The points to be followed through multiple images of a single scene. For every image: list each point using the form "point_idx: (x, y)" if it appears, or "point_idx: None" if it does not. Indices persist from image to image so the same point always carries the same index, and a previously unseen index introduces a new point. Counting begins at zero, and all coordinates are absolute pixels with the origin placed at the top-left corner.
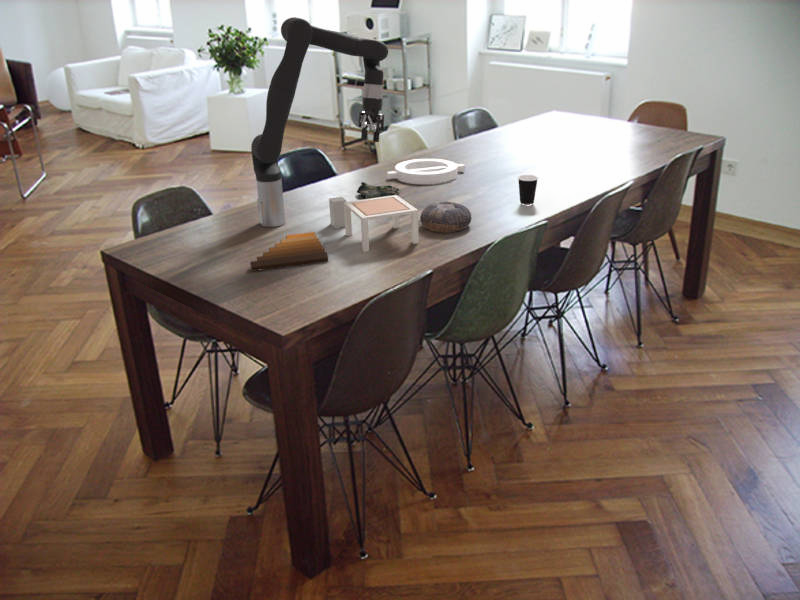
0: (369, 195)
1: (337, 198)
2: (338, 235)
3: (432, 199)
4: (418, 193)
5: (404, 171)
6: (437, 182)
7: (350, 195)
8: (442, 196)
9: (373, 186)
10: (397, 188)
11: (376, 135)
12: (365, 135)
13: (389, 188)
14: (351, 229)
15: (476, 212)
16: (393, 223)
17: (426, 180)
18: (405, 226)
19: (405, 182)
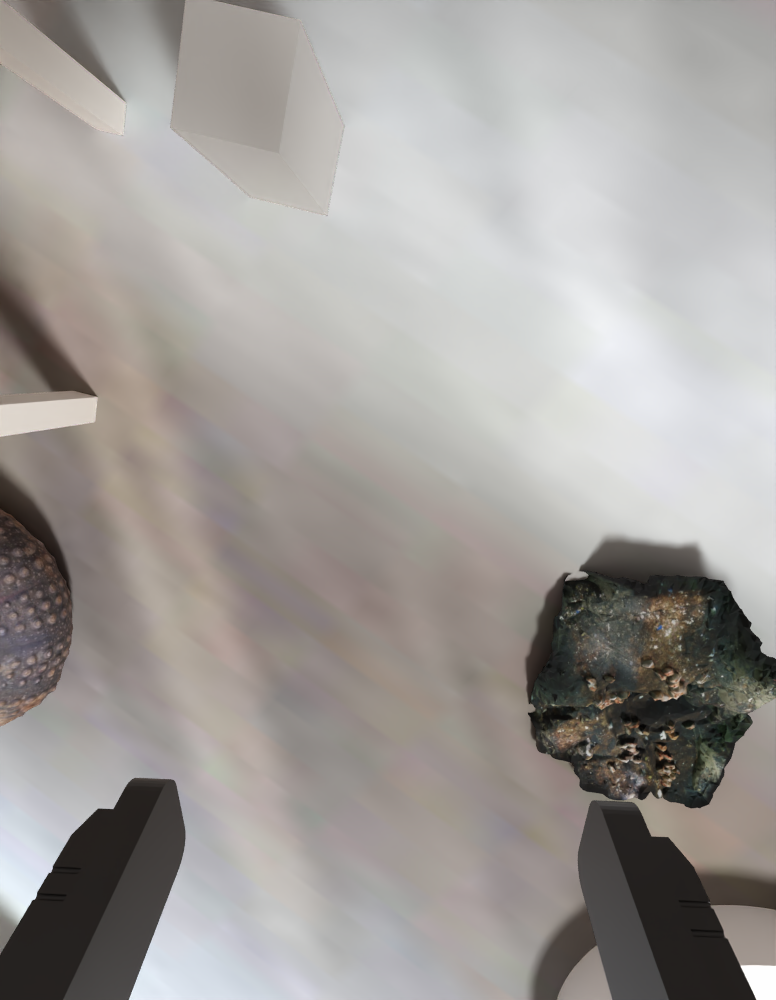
0: (609, 603)
1: (257, 90)
2: (133, 52)
3: (360, 806)
4: (492, 826)
5: (768, 979)
6: (565, 988)
7: (759, 554)
8: (368, 864)
9: (744, 724)
10: (615, 797)
11: (18, 930)
12: (610, 935)
13: (668, 778)
14: (73, 111)
15: (79, 806)
16: (67, 394)
17: (602, 968)
18: (73, 454)
19: (711, 905)
